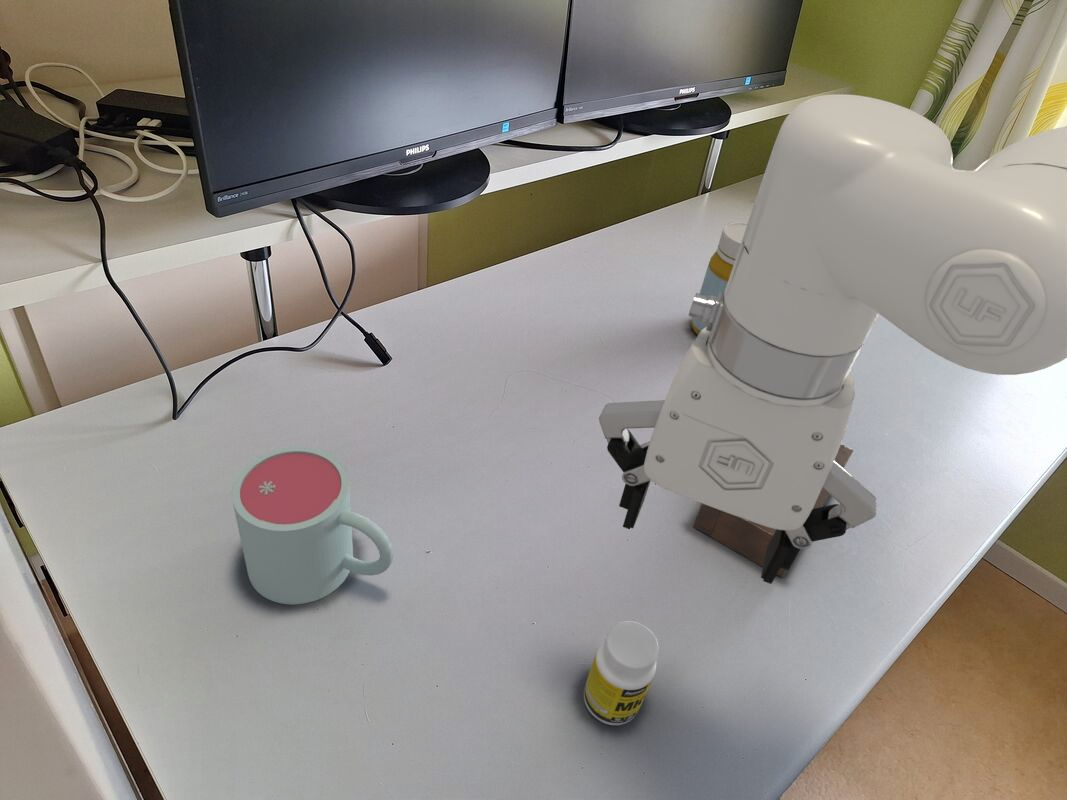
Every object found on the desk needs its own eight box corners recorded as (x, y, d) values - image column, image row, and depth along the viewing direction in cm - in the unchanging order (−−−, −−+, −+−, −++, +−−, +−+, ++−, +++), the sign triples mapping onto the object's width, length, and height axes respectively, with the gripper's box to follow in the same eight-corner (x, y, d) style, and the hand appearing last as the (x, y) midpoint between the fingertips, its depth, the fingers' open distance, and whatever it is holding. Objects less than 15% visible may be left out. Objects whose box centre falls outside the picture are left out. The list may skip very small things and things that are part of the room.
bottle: (712, 310, 108) (743, 215, 98) (750, 336, 105) (786, 240, 95) (679, 325, 105) (708, 228, 95) (717, 352, 101) (752, 254, 91)
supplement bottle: (610, 739, 60) (631, 685, 54) (571, 692, 62) (587, 636, 57) (652, 704, 62) (676, 650, 57) (612, 661, 65) (632, 605, 59)
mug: (225, 582, 66) (206, 507, 60) (286, 508, 73) (275, 433, 67) (366, 638, 64) (363, 566, 57) (415, 556, 71) (417, 484, 64)
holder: (838, 478, 85) (853, 449, 82) (782, 578, 74) (798, 549, 71) (757, 437, 89) (770, 408, 86) (692, 526, 77) (704, 497, 75)
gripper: (610, 326, 40) (563, 532, 51) (950, 438, 36) (820, 633, 48) (648, 263, 45) (598, 461, 57) (947, 354, 42) (830, 547, 53)
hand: (699, 540), depth 52 cm, fingers open, 9 cm apart
